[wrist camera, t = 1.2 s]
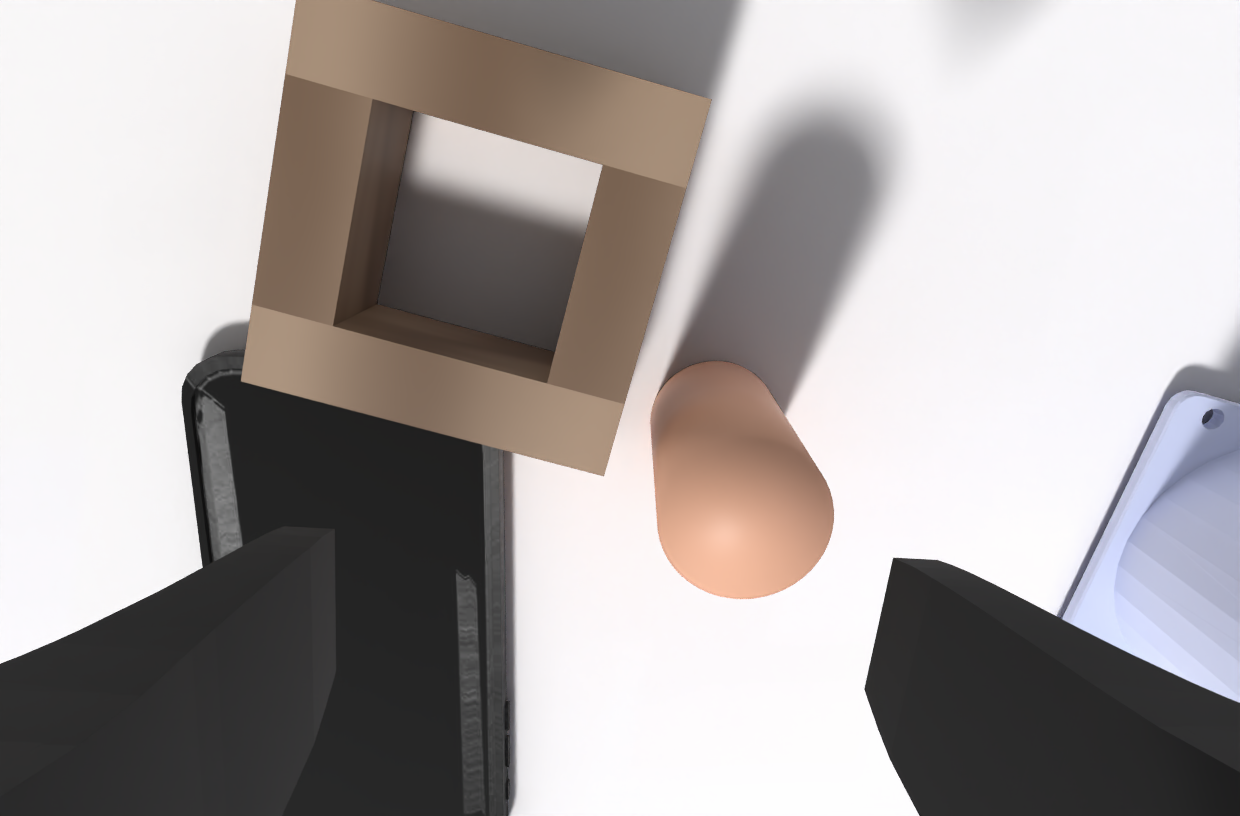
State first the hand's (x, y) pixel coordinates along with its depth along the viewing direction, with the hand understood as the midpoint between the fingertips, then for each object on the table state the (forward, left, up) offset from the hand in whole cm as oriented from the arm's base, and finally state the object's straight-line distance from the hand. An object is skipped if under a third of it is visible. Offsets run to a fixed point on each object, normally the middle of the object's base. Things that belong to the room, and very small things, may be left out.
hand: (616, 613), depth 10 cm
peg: (-2, 0, -10) cm, 11 cm away
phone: (+5, +8, -11) cm, 14 cm away
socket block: (+4, -3, -10) cm, 11 cm away
